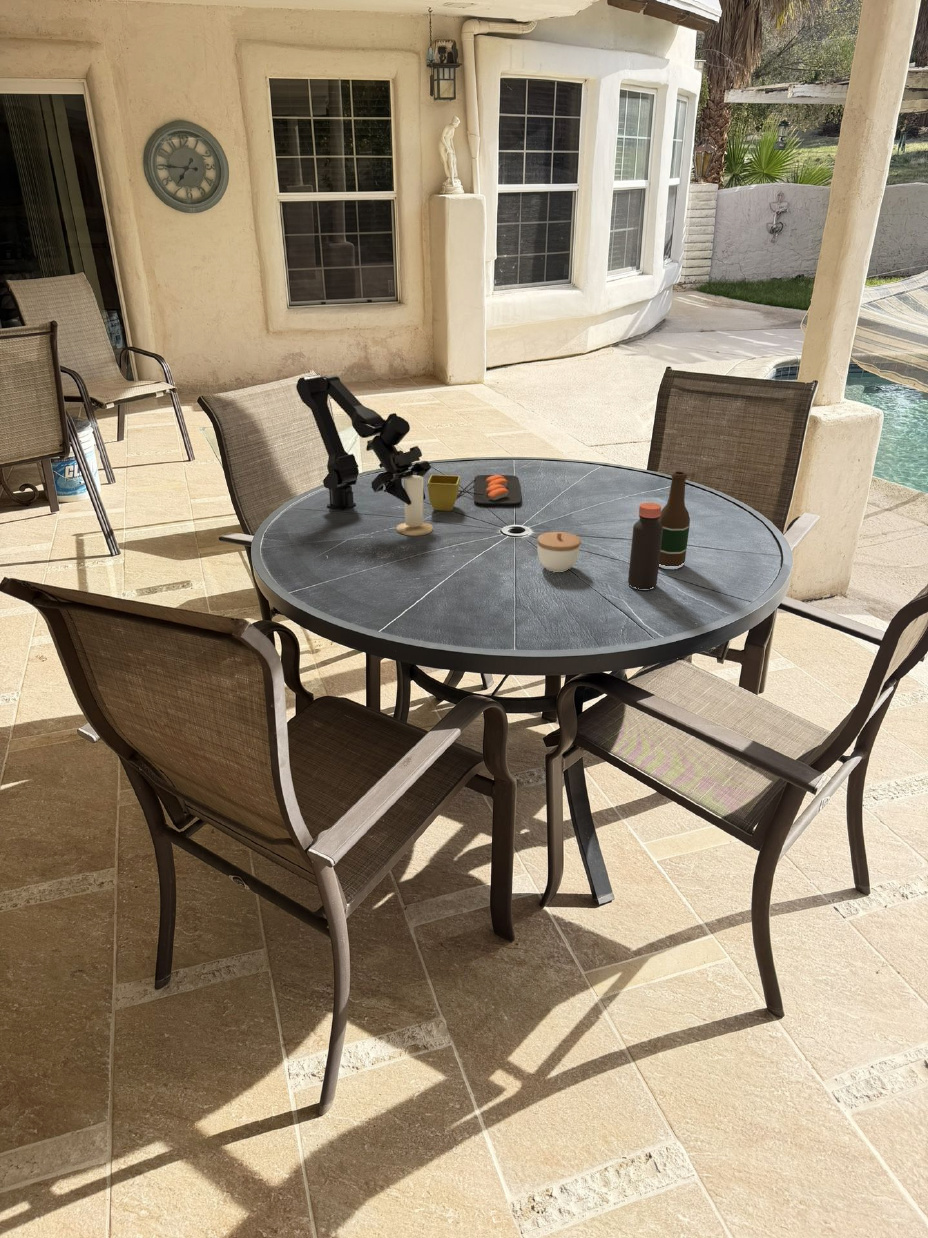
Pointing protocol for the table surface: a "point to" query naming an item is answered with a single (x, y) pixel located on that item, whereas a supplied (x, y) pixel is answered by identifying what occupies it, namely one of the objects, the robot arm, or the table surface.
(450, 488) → the flower pot
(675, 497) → the beer bottle
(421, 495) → the cream glossy rounded body
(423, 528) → the cork coaster
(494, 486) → the sushi plate
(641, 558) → the vinegar
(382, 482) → the robot arm
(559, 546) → the lidded jar
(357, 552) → the table surface
